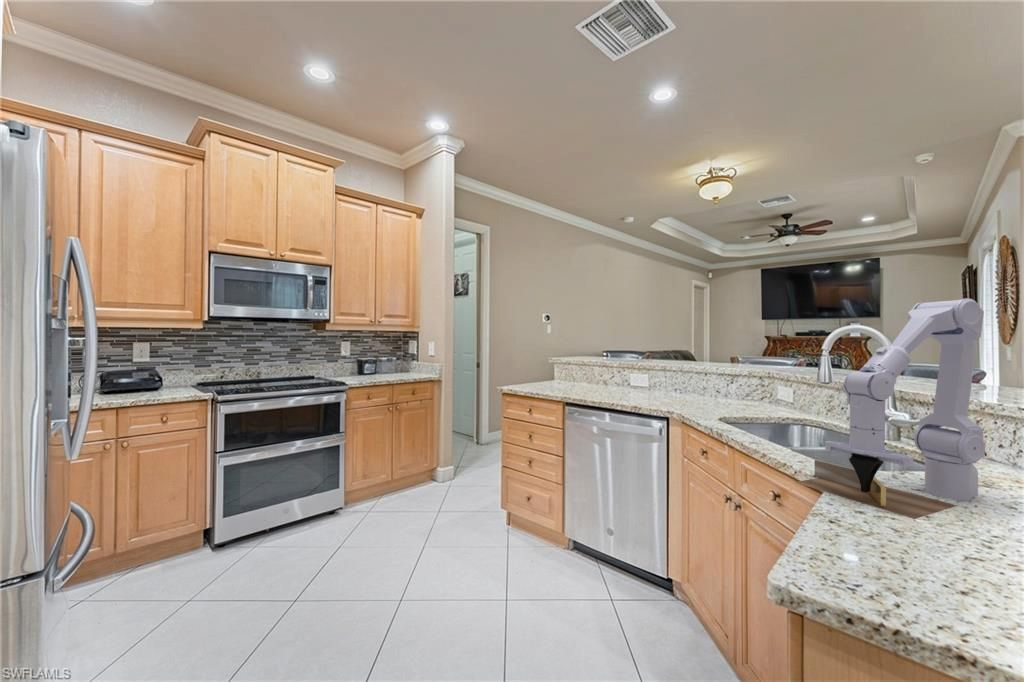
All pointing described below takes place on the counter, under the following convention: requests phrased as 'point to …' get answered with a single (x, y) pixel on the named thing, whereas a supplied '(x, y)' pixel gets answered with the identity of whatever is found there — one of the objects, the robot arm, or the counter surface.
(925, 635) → the counter surface
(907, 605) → the counter surface
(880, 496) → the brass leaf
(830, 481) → the hinge base
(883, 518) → the counter surface
